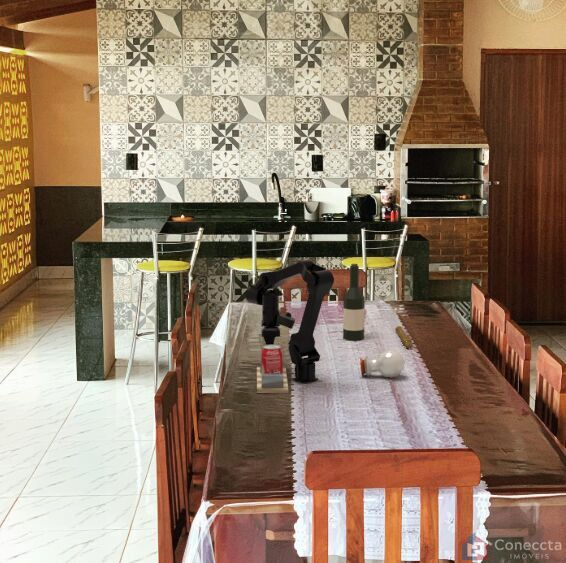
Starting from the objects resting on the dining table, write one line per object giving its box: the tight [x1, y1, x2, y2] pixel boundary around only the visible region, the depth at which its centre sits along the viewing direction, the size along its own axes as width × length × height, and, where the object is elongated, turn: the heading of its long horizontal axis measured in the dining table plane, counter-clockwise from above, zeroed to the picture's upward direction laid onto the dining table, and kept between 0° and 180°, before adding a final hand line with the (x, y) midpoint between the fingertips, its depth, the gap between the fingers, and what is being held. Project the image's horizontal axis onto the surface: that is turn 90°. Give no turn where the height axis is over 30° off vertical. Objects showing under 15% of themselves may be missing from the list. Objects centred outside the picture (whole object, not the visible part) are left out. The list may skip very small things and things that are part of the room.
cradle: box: [256, 364, 289, 394], centre depth 332 cm, size 28×10×6 cm, turn 2°
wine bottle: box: [342, 263, 366, 342], centre depth 392 cm, size 8×8×30 cm
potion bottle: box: [359, 349, 406, 379], centre depth 337 cm, size 9×10×15 cm
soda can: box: [260, 344, 284, 376], centre depth 325 cm, size 7×7×12 cm
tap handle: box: [395, 325, 413, 349], centre depth 391 cm, size 3×3×30 cm
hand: (270, 351), depth 346 cm, fingers closed
